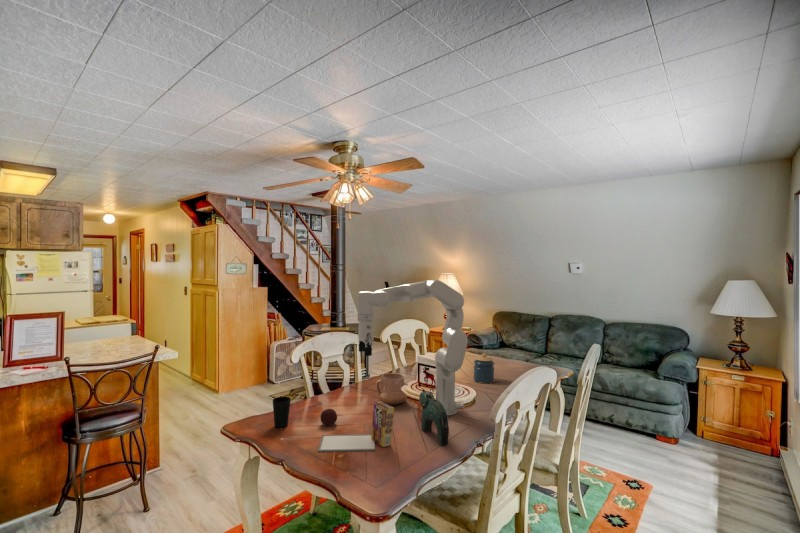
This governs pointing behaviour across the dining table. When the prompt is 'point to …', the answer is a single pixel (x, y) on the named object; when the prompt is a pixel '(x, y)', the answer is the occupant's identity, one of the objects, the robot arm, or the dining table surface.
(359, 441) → the mat
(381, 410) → the candy box
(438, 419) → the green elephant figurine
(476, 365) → the canister
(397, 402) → the ceramic jug
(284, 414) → the cup
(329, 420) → the dark maroon ball
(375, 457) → the dining table surface
